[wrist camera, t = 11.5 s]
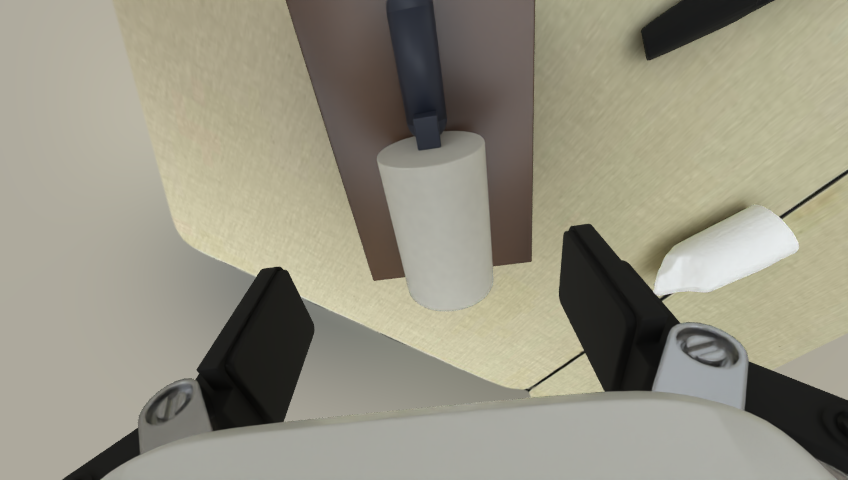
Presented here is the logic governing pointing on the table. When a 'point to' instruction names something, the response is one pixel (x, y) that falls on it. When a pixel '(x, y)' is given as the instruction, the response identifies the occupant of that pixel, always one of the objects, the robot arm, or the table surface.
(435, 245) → the lint roller
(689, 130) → the table surface
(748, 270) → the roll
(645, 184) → the table surface
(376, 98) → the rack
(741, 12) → the electric trimmer
